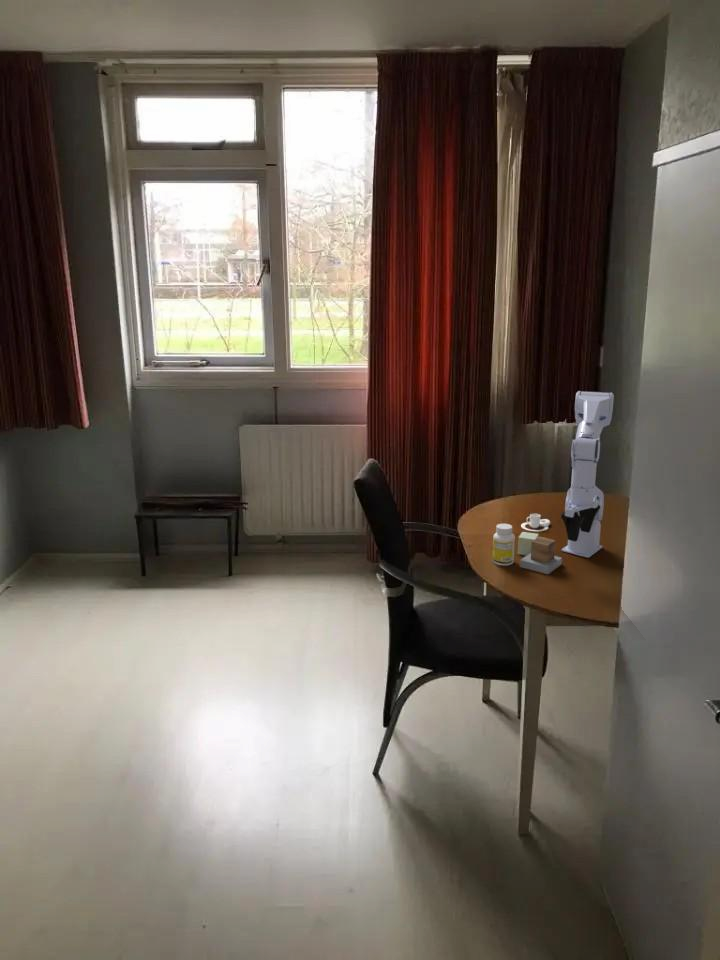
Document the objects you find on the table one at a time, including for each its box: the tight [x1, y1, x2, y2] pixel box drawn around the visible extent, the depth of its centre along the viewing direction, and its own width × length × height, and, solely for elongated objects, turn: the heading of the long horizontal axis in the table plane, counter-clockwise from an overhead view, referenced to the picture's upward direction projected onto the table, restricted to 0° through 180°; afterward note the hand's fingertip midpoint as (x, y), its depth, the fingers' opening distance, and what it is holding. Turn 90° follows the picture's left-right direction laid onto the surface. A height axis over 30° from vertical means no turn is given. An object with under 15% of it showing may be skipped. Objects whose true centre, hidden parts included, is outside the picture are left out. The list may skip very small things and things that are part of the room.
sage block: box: [517, 531, 539, 556], centre depth 211 cm, size 4×4×5 cm
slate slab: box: [519, 553, 563, 575], centre depth 203 cm, size 8×8×2 cm
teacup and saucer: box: [520, 513, 551, 532], centre depth 230 cm, size 9×8×4 cm
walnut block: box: [531, 536, 556, 563], centre depth 202 cm, size 4×4×5 cm
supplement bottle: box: [492, 523, 516, 566], centre depth 204 cm, size 6×6×10 cm
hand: (578, 535), depth 196 cm, fingers open, 7 cm apart
